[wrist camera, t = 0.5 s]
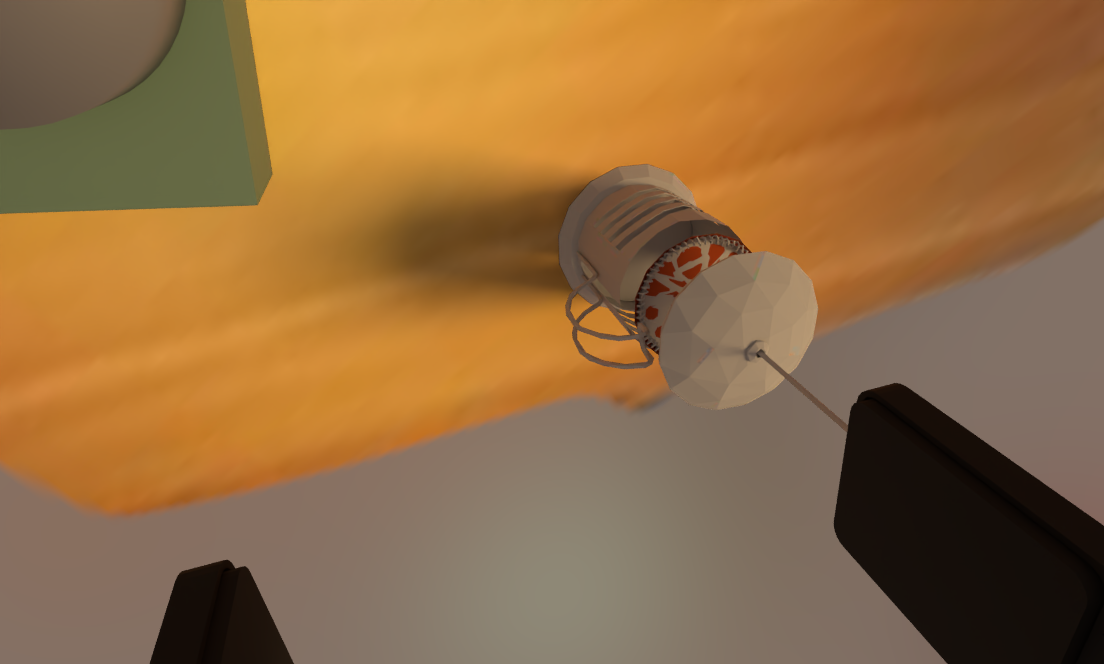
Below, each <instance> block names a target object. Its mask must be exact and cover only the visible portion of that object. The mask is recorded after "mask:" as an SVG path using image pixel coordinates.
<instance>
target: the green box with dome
mask: <svg viewBox="0 0 1104 664" xmlns="http://www.w3.org/2000/svg"><path fill="white" fill-rule="evenodd" d="M271 176H272V168H271V162H270V155H269V149H268V143H267V136H266V130H265V124H264V117H263V111H262V104H261V98H260V92H259V85H258V79H257V73H256V66H255V60H254V53H253V47H252V41H251V34H250V28H249V22H248V15H247V9H246V2H245V0H0V214H4V213H34V212H65V211H96V210H126V209H157V208H187V207H218V206H248V205H258V203H259V201H260V199H261V197H262V195H263V193H264V191H265V189H266V187H267V185H268V182H269V180H270V178H271Z"/></svg>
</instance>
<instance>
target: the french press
mask: <svg viewBox="0 0 1104 664" xmlns="http://www.w3.org/2000/svg"><path fill="white" fill-rule="evenodd" d="M698 210H700V211H701V212H700V211H698ZM714 222H716V223H717V224H718V225H717V224H716V223H714ZM559 264H560V266H561V268H562V270H563V272H564V274H565V276H566V278H567V281H568V283H569V285H570V287H571V288H572V289H573V291H572V292H571V293H570V295H569V297H568V300H567V302H566V305H565V308H566V316H567V317H568V318H569V320H570V321H571V323H572V324H573V325H574V326H573V331H572V336H573V340H574V342H575V345H576V347H577V349H578V351H579V353H580V354H581V355H583V356H584V357H585V358H587V359H588V360H589V361H592V362H595V363H598V364H600V365H603V366H607V367H614V368H620V369H634V368H646V367H648V366H649V365H651V364H652V363H653V360H654V357H653V356H652V355H651V354H650V353H649V351H648V350H647V349H646V348H649V349H652V350H653V351H654V352H656V353H657V354H658V355H659V364H660V366H661V369H662V371H663V373H664V376H665V378H666V381H667V383H668V385H669V388H670V390H672V391H673V392H674V393H675V394H677V395H678V396H679V397H680V398H682V399H683V400H684V401H685V402H687V403H688V404H689V405H693V406H698V407H703V408H708V409H713V410H719V409H725V408H730V407H735V406H740V405H746V404H747V403H749V402H751V401H753V400H754V399H757V398H758V397H760V396H762V395H764V394H766V393H768V392H769V391H771V390H773V389H774V388H775V387H776V386H777V385H778V384H780V382H782V380H784V378H786V379H787V380H788V381H789V382H790V383H791V384H792V385H794V386H795V387H796V388H797V389H798V390H799V391H800V392H802V393H803V394H804V395H805V396H806V397H807V398H808V399H810V400H811V401H812V402H813V403H814V404H815V405H816V406H817V407H819V408H820V409H821V410H822V411H823V412H824V413H825V414H827V415H828V416H829V417H830V418H831V419H832V420H833V421H835V422H836V423H837V424H838V425H839V426H840V427H841V428H843V429H844V430H845V431H846V432H847V431H848V425H847V424H846V423H844V422H843V421H842V420H841V419H840V418H839V417H837V416H836V415H835V414H834V413H833V412H832V411H830V410H829V409H828V408H827V407H826V406H825V405H824V404H822V403H821V402H820V401H819V400H818V399H817V398H815V397H814V396H813V395H812V394H811V393H810V392H809V391H807V390H806V389H805V388H804V387H803V386H801V385H800V384H799V383H798V382H797V381H796V380H795V379H794V378H792V377H791V376H790V375H789V374H790V373H791V372H792V371H793V370H794V369H795V368H796V367H797V366H798V364H799V362H800V361H801V359H802V357H803V355H804V353H805V351H806V350H807V348H808V346H809V344H810V342H811V341H812V339H813V335H814V329H815V323H816V318H817V312H818V306H817V301H816V297H815V293H814V288H813V284H812V280H811V279H810V278H809V277H808V276H807V275H806V274H805V273H804V271H803V270H802V269H801V268H800V267H799V266H798V265H797V263H796V262H795V261H794V260H791V259H788V258H785V257H782V256H779V255H776V254H773V253H770V252H767V251H763V252H755V253H752V252H751V251H750V250H749V249H748V248H747V247H746V246H745V245H744V244H743V243H742V241H741V240H740V238H739V237H738V236H737V235H736V234H735V233H734V232H733V231H732V230H731V229H730V228H729V227H728V226H727V225H725V224H724V223H722V222H721V221H719V220H717V219H716V218H714V217H713V216H711V215H709V214H707V213H704V212H703V211H702V210H701V209H699V208H698V207H697V206H696V203H695V200H694V197H693V194H692V192H691V191H690V190H689V189H688V188H687V187H686V186H685V185H684V184H683V183H682V182H681V181H680V180H679V178H678V177H677V176H676V175H675V174H674V173H671V172H669V171H666V170H663V169H660V168H657V167H654V166H651V165H649V164H643V165H633V166H624V167H617V168H615V169H613V170H612V171H610V172H608V173H606V174H604V175H602V176H600V177H599V178H597V179H595V180H593V181H591V182H590V183H589V184H588V185H587V186H586V188H585V189H584V190H583V191H582V192H581V193H580V194H579V196H578V197H577V198H576V199H575V200H574V201H573V203H572V204H571V205H570V206H569V208H568V211H567V214H566V217H565V219H564V222H563V225H562V227H561V230H560V233H559ZM577 293H578V294H579V295H581V296H582V297H583V298H584V299H586V300H587V301H588V302H589V303H591V304H594V305H592V306H591V307H589V308H588V309H587V310H585V311H584V312H583V313H582V314H581V315H580V316H579V317H578V319H577V320H575V318H574V317H573V315H572V313H571V311H570V308H571V302H572V299H573V297H574V296H575V295H576V294H577ZM598 306H602V307H606V308H609V310H610V311H611V312H612V313H613V314H614V316H615V317H616V318H617V319H618V320H619V322H620V323H621V324H622V325H623V326H624V328H625V329H626V330H627V331H628V332H629V334H630V335H623V336H616V335H610V334H603V333H598V332H595V331H592V330H589V329H586V328H583V327H581V326H580V325H579V322H580V321H581V320H582V319H583V318H584V317H585V316H586V314H588V313H589V312H591V311H592V310H594V309H595V308H597V307H598ZM619 309H622V310H628V311H634V312H635V314H630V313H625V312H623V311H621V310H619ZM618 312H619V313H621V314H623V315H625V316H627V317H629V318H635V322H633V321H631V320H629V319H627V318H625V317H623V316H621V315H620V314H619V313H618ZM625 321H626V322H628V323H631V324H633V325H635V326H636V327H637V329H636V328H634V327H632V326H630V325H628V324H627V323H626V322H625ZM577 330H579V331H581V332H584V333H587V334H590V335H593V336H596V337H598V338H601V339H608V340H616V341H623V340H632V339H636V340H637V341H638V342H640V346H641V349H642V351H643V353H644V355H645V356H646V358H647V360H648V362H642V363H632V364H621V363H615V362H609V361H604V360H601V359H599V358H597V357H594V356H592V355H590V354H588V353H586V352H585V350H584V349H583V347H582V346H581V344H580V343H579V341H578V340H577ZM632 330H633V331H635V332H637V333H638V334H635V333H634V332H633V331H632Z"/></svg>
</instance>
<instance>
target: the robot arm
mask: <svg viewBox="0 0 1104 664" xmlns="http://www.w3.org/2000/svg"><path fill="white" fill-rule="evenodd" d="M834 529H835V533H836V535H837V538H838V539H839V541H840V543H841V544H842V545H843V547H844V548H845V549H846V550H847V551H848V552H849V553H850V555H851V556H852V557H853V558H854V559H855V560H856V561H857V562H858V563H859V564H860V566H861V567H862V568H863V569H864V570H865V571H866V573H867V574H868V575H869V576H870V577H871V578H872V579H873V580H874V582H875V583H876V584H877V585H878V586H879V587H880V588H881V589H882V591H883V592H884V593H885V594H886V595H887V596H888V597H889V598H890V600H891V601H892V602H893V603H894V604H895V605H896V606H897V607H898V609H899V610H900V611H901V612H902V613H903V614H904V615H905V616H906V618H907V619H908V620H909V621H910V622H911V623H912V624H913V625H914V627H915V628H916V629H917V630H918V631H919V632H920V633H921V634H922V636H923V637H924V638H925V639H926V640H927V641H928V642H929V643H930V645H931V646H932V647H933V648H934V649H935V650H936V651H937V652H938V653H939V655H940V656H941V657H942V658H943V659H944V660H945V661H946V663H948V664H1104V526H1103V525H1102V524H1101V523H1099V522H1098V521H1096V520H1095V519H1093V518H1092V517H1091V516H1089V515H1088V514H1086V513H1085V512H1083V511H1082V510H1081V509H1079V508H1078V507H1076V506H1075V505H1074V504H1072V503H1071V502H1069V501H1068V500H1067V499H1065V498H1064V497H1062V496H1061V495H1059V494H1058V493H1057V492H1055V491H1054V490H1052V489H1051V488H1049V487H1048V486H1046V485H1045V484H1044V483H1042V482H1041V481H1040V480H1038V479H1037V478H1035V477H1034V476H1032V475H1031V474H1030V473H1028V472H1027V471H1025V470H1024V469H1023V468H1021V467H1020V466H1018V465H1017V464H1015V463H1014V462H1012V461H1011V460H1010V459H1008V458H1007V457H1006V456H1004V455H1002V454H1001V453H1000V452H998V451H997V450H996V449H994V448H993V447H991V446H990V445H988V444H987V443H986V442H984V441H983V440H981V439H980V438H978V437H977V436H976V435H974V434H973V433H972V432H970V431H969V430H967V429H966V428H964V427H963V426H962V425H960V424H959V423H957V422H956V421H954V420H953V419H952V418H950V417H949V416H947V415H946V414H945V413H943V412H942V411H940V410H939V409H937V408H936V407H935V406H933V405H932V404H930V403H929V402H928V401H926V400H925V399H923V398H922V397H920V396H919V395H918V394H916V393H915V392H913V391H912V390H911V389H909V388H908V387H906V386H904V385H902V384H898V383H893V384H890V385H886V386H882V387H879V388H875V389H871V390H867V391H864V392H862V393H861V394H860V395H859V396H858V400H857V403H854V405H853V406H852V408H851V411H850V417H849V424H848V431H847V438H846V444H845V451H844V458H843V464H842V471H841V477H840V484H839V490H838V497H837V504H836V510H835V517H834ZM150 664H294V663H293V661H292V659H291V657H290V655H289V653H288V650H287V648H286V646H285V644H284V642H283V640H282V638H281V636H280V634H279V632H278V629H277V628H276V625H275V623H274V621H273V619H272V617H271V615H270V613H269V611H268V609H267V606H266V604H265V602H264V600H263V598H262V596H261V594H260V592H259V590H258V587H257V585H256V583H255V581H254V579H253V577H252V575H251V573H250V571H249V569H248V568H247V567H245V566H244V567H239V568H236V569H235V567H234V566H233V564H232V563H231V562H230V561H229V560H223V561H220V562H216V563H212V564H208V565H204V566H200V567H197V568H193V569H189V570H185V571H182V572H181V573H180V574H179V575H178V577H177V579H176V581H175V584H174V587H173V590H172V593H171V596H170V600H169V603H168V606H167V609H166V613H165V616H164V619H163V623H162V626H161V629H160V632H159V635H158V638H157V642H156V645H155V648H154V651H153V655H152V658H151V661H150Z"/></svg>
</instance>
